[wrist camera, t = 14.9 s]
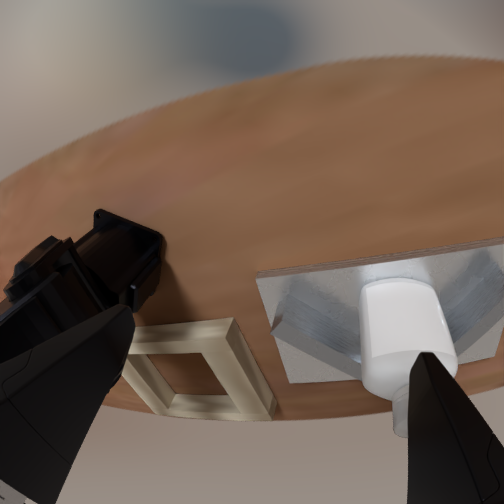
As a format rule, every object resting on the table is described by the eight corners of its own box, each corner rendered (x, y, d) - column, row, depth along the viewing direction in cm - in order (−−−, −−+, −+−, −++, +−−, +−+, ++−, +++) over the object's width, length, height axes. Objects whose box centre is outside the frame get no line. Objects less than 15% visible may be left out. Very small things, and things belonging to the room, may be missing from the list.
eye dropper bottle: (384, 255, 20) (412, 417, 9) (442, 291, 20) (486, 437, 10) (348, 300, 22) (344, 457, 12) (405, 330, 22) (422, 473, 12)
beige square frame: (163, 399, 37) (155, 414, 35) (109, 328, 32) (97, 343, 30) (277, 402, 32) (272, 420, 29) (233, 317, 26) (225, 337, 24)
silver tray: (258, 271, 24) (245, 305, 20) (514, 234, 17) (539, 263, 14) (291, 375, 29) (284, 408, 25) (491, 348, 22) (502, 380, 19)
